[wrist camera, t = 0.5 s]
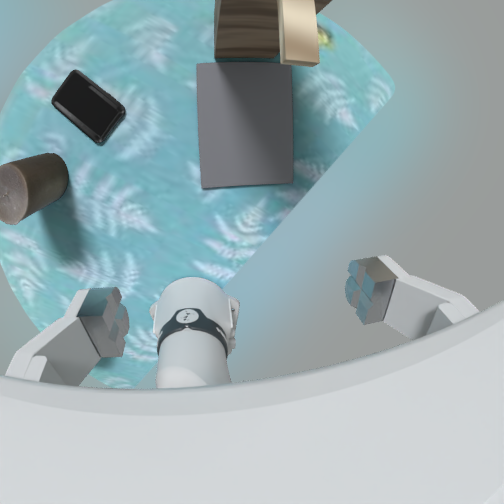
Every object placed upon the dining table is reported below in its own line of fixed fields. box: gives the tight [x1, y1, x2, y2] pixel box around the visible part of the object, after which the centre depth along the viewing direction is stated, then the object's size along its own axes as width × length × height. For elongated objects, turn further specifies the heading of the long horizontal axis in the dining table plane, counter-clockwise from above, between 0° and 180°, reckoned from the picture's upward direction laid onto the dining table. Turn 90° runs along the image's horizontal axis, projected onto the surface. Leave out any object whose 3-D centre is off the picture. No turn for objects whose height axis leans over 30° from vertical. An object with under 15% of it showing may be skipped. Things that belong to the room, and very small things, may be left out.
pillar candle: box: [0, 153, 68, 225], centre depth 33 cm, size 10×10×15 cm
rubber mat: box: [197, 62, 293, 188], centre depth 42 cm, size 22×16×1 cm
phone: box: [52, 70, 125, 143], centre depth 36 cm, size 8×1×15 cm
